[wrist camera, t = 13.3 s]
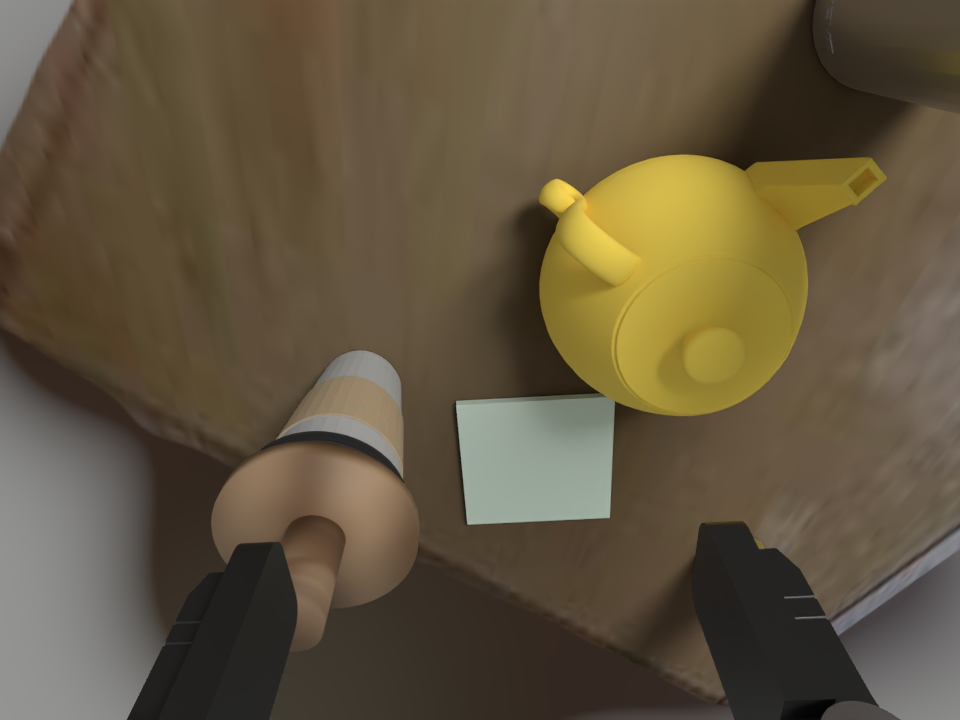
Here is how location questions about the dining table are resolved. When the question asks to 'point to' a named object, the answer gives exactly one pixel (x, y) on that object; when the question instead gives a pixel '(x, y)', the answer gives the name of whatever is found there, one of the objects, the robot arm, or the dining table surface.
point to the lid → (322, 525)
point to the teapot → (687, 274)
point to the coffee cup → (353, 409)
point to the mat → (536, 457)
